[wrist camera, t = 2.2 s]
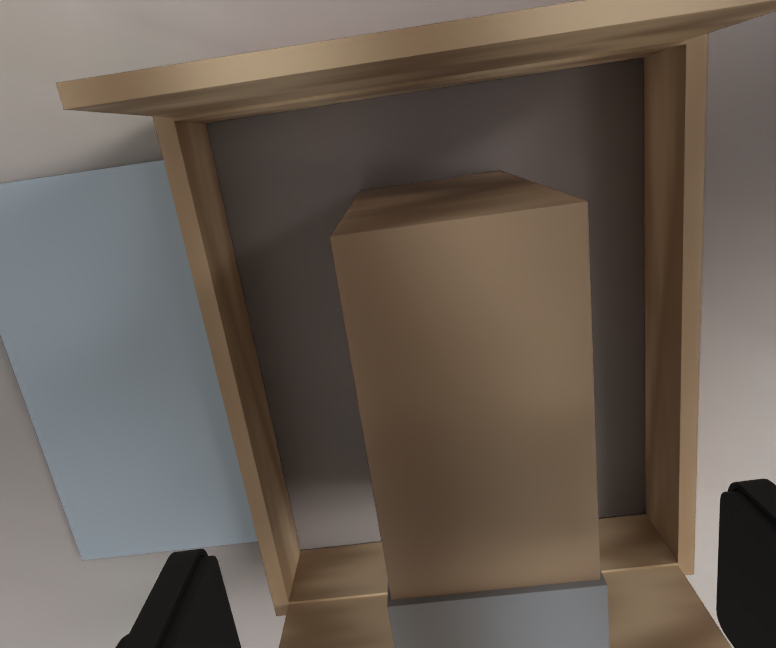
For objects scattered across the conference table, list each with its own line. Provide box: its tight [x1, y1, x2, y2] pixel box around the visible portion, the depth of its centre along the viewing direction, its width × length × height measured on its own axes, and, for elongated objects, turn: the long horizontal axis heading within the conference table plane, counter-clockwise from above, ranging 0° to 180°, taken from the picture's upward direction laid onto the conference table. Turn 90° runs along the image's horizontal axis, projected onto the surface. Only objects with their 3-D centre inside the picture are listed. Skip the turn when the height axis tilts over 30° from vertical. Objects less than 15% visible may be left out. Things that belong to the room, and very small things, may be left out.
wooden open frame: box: [56, 0, 776, 648], centre depth 18 cm, size 16×19×9 cm
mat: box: [0, 160, 258, 560], centre depth 23 cm, size 8×16×1 cm, turn 8°
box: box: [330, 171, 609, 648], centre depth 18 cm, size 5×12×10 cm, turn 8°
